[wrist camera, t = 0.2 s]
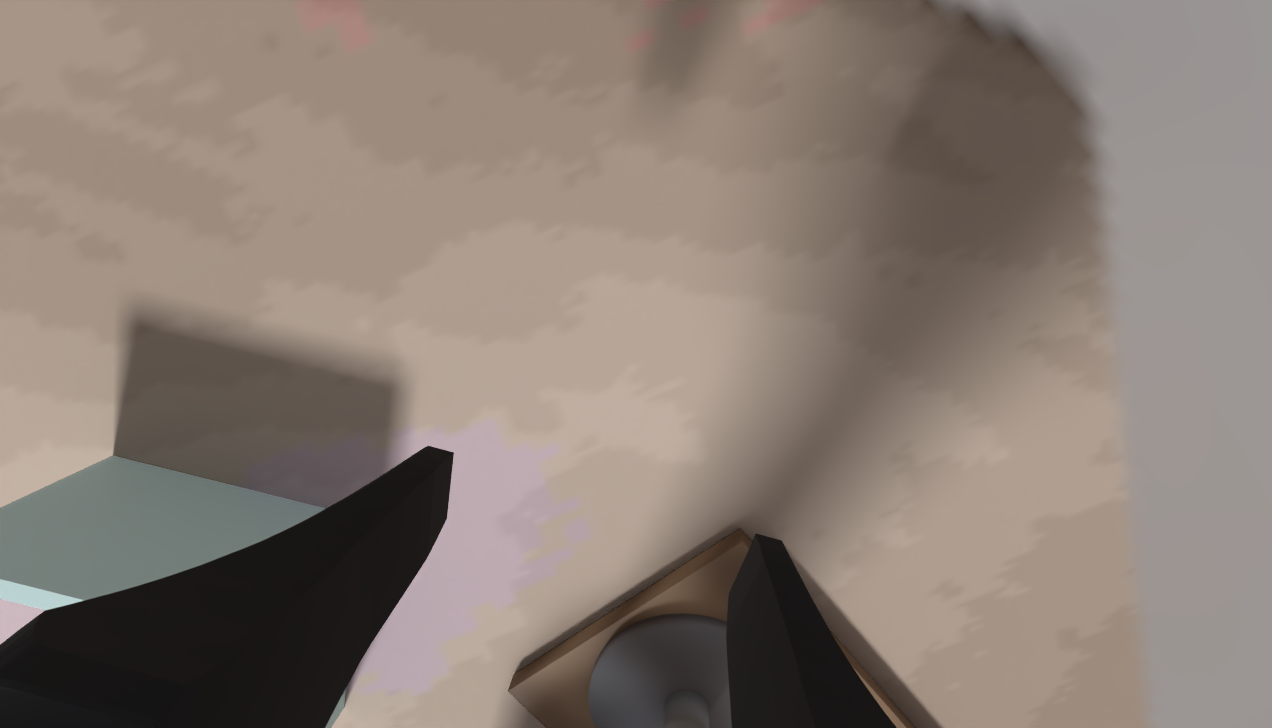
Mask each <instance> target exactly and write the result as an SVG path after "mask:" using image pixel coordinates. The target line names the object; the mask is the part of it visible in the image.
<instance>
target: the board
mask: <svg viewBox="0 0 1272 728" xmlns="http://www.w3.org/2000/svg"><path fill="white" fill-rule="evenodd" d="M751 543H752V541H751V539H750V538H749V537H748V536H747V535H746V534H745V533H744V531H743V530H742V529H741V528H740V529H738V530H737V531H735V532H733V533H732V534H730V535H729V536H727V537H726V538H724V539H723V540H721V541H719V542H718V543H716V544H715V545H713V546H712V547H710V548H709V549H707V550H706V551H704V552H702V553H701V554H699V555H698V556H696V557H695V558H693V559H692V560H690V561H689V562H687V563H685V564H684V565H682V566H681V567H679V568H678V569H676V570H675V571H673V572H671V573H670V574H668V575H667V576H665V577H664V578H662V579H661V580H659V581H658V582H656V583H654V584H653V585H651V586H650V587H648V588H647V589H645V590H644V591H642V592H641V593H639V594H637V595H636V596H634V597H633V598H631V599H630V600H628V601H627V602H625V603H623V604H622V605H620V606H619V607H617V608H616V609H614V610H613V611H611V612H610V613H608V614H606V615H605V616H603V617H602V618H600V619H599V620H597V621H596V622H594V623H592V624H591V625H589V626H588V627H586V628H585V629H583V630H582V631H580V632H579V633H577V634H575V635H574V636H572V637H571V638H569V639H568V640H566V641H565V642H563V643H562V644H560V645H558V646H557V647H555V648H554V649H552V650H551V651H549V652H548V653H546V654H544V655H543V656H541V657H540V658H538V659H537V660H535V661H534V662H532V663H531V664H529V665H527V666H526V667H524V668H523V669H521V670H520V671H518V672H517V673H515V674H514V675H513V678H512V681H511V684H510V687H509V689H508V692H509V693H510V694H511V695H513V696H514V697H515V698H516V699H517V700H518V701H519V702H520V703H521V704H522V705H523V706H524V707H525V708H526V709H527V710H528V711H529V712H530V713H532V714H533V715H534V716H535V717H536V718H537V719H538V720H539V721H540V722H541V723H542V724H543V725H544V726H545V727H546V728H732V724H731V708H730V693H729V678H728V662H727V644H726V630H727V611H728V596H729V592H730V590H731V588H732V585H733V583H734V581H735V579H736V577H737V574H738V572H739V570H740V568H741V566H742V563H743V561H744V559H745V557H746V555H747V552H748V550H749V548H750V546H751ZM830 632H831V631H830ZM831 633H832V632H831ZM832 635H833V637H834V638H835V640H836V642H837V643H838V645H839V647H840V648H841V650H842V651H843V653H844V654H845V656H846V658H847V659H848V661H849V662H850V664H851V665H852V667H853V668H854V670H855V671H856V673H857V674H858V676H859V677H860V679H861V680H862V682H863V683H864V684H865V686H866V687H867V689H868V690H869V691H870V693H871V694H872V695H873V697H874V698H875V700H876V701H877V702H878V704H879V705H880V706H881V708H882V709H883V711H884V712H885V713H886V715H887V716H888V717H889V718H890V720H891V721H892V722H893V724H894V725H895V726H896V727H897V728H915V727H914V726H913V724H912V723H911V722H910V721H909V720H908V719H907V718H906V716H905V715H904V714H903V713H902V712H901V711H900V710H899V708H898V707H897V706H896V705H895V704H894V703H893V702H892V700H891V699H890V698H889V697H888V696H887V695H886V694H885V692H884V691H883V690H882V689H881V688H880V687H879V686H878V684H877V683H876V682H875V681H874V680H873V679H872V678H871V676H870V675H869V674H868V673H867V672H866V671H865V670H864V668H863V667H862V666H861V665H860V664H859V663H858V662H857V660H856V659H855V658H854V657H853V656H852V655H851V654H850V652H849V651H848V650H847V649H846V648H845V647H844V646H843V644H842V643H841V642H840V641H839V640H838V639H837V638H836V636H835V635H834V634H833V633H832Z"/></svg>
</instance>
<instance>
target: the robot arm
mask: <svg viewBox="0 0 1272 728" xmlns="http://www.w3.org/2000/svg"><path fill="white" fill-rule="evenodd" d="M453 454H454V453H453V452H449V451H446V450H442V449H438V448H434V447H431V446H427V447H425V448H423V449H422V450H420V451H419V452H417V453H415V454H414V455H412V456H411V457H409V458H408V459H406V460H405V461H403V462H402V463H400V464H399V465H397V466H396V467H394V468H393V469H391V470H390V471H388V472H387V473H385V474H383V475H382V476H380V477H379V478H377V479H376V480H374V481H372V482H371V483H369V484H367V485H366V486H364V487H362V488H361V489H359V490H358V491H356V492H354V493H353V494H351V495H349V496H348V497H346V498H344V499H343V500H341V501H339V502H337V503H335V504H334V505H332V506H330V507H328V508H326V509H324V510H323V511H321V512H319V513H317V514H315V515H314V516H312V517H310V518H308V519H306V520H304V521H302V522H300V523H298V524H296V525H294V526H292V527H290V528H288V529H286V530H284V531H282V532H280V533H278V534H275V535H273V536H271V537H269V538H267V539H265V540H262V541H260V542H258V543H256V544H253V545H251V546H248V547H246V548H243V549H241V550H238V551H236V552H233V553H230V554H228V555H225V556H223V557H220V558H218V559H215V560H213V561H210V562H207V563H205V564H202V565H200V566H197V567H194V568H191V569H188V570H185V571H182V572H179V573H176V574H173V575H170V576H167V577H164V578H161V579H158V580H155V581H152V582H148V583H145V584H142V585H139V586H135V587H132V588H129V589H125V590H122V591H118V592H114V593H111V594H107V595H103V596H99V597H96V598H92V599H88V600H84V601H80V602H77V603H73V604H69V605H65V606H62V607H57V608H53V609H49V610H45V611H44V612H43V613H41V614H40V615H38V616H37V617H36V618H34V619H33V620H32V621H30V622H29V623H28V624H26V625H25V626H24V627H22V628H21V629H20V630H18V631H17V632H16V633H15V634H13V635H12V636H11V637H10V638H8V639H7V640H6V641H5V642H3V643H2V644H1V645H0V728H325V727H326V725H327V723H328V721H329V719H330V717H331V715H332V714H333V712H334V710H335V708H336V706H337V704H338V702H339V700H340V698H341V696H342V695H343V693H344V691H345V689H346V687H347V685H348V683H349V681H350V680H351V678H352V676H353V674H354V672H355V670H356V668H357V666H358V665H359V663H360V661H361V659H362V658H363V656H364V654H365V653H366V651H367V649H368V648H369V646H370V645H371V643H372V641H373V640H374V638H375V637H376V635H377V634H378V632H379V631H380V629H381V628H382V626H383V625H384V623H385V622H386V620H387V619H388V617H389V616H390V614H391V612H392V611H393V609H394V608H395V606H396V605H397V603H398V602H399V600H400V599H401V597H402V596H403V594H404V593H405V591H406V590H407V588H408V587H409V585H410V584H411V582H412V580H413V579H414V577H415V576H416V574H417V573H418V571H419V570H420V568H421V567H422V565H423V563H424V562H425V560H426V559H427V557H428V555H429V553H430V551H431V549H432V547H433V545H434V543H435V541H436V539H437V537H438V535H439V533H440V531H441V529H442V527H443V525H444V523H445V521H446V519H447V511H448V502H449V492H450V483H451V473H452V464H453ZM726 644H727V662H728V678H729V693H730V708H731V724H732V728H897V727H896V726H895V725H894V724H893V722H892V721H891V720H890V718H889V717H888V716H887V715H886V713H885V712H884V711H883V709H882V708H881V706H880V705H879V704H878V702H877V701H876V700H875V698H874V697H873V695H872V694H871V693H870V691H869V690H868V689H867V687H866V686H865V684H864V683H863V682H862V680H861V679H860V677H859V676H858V674H857V673H856V671H855V670H854V668H853V667H852V665H851V664H850V662H849V661H848V659H847V658H846V656H845V654H844V653H843V651H842V650H841V648H840V647H839V645H838V643H837V642H836V640H835V638H834V637H833V635H832V633H831V632H830V630H829V628H828V626H827V625H826V623H825V621H824V619H823V618H822V616H821V614H820V612H819V611H818V609H817V607H816V605H815V603H814V602H813V600H812V598H811V596H810V594H809V592H808V590H807V588H806V587H805V585H804V583H803V581H802V579H801V577H800V575H799V573H798V571H797V569H796V567H795V565H794V563H793V561H792V560H791V558H790V556H789V554H788V552H787V550H786V548H785V546H784V544H783V542H782V541H781V540H777V539H774V538H770V537H766V536H762V535H759V534H756V535H755V537H754V539H753V541H752V543H751V546H750V548H749V550H748V552H747V555H746V557H745V559H744V561H743V563H742V566H741V568H740V570H739V572H738V574H737V577H736V579H735V581H734V583H733V585H732V588H731V590H730V592H729V596H728V611H727V630H726Z"/></svg>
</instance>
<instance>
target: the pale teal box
mask: <svg viewBox="0 0 1272 728" xmlns="http://www.w3.org/2000/svg"><path fill="white" fill-rule="evenodd" d="M324 509H326V508H323V507H319V506H315V505H311V504H307V503H303V502H299V501H295V500H291V499H287V498H283V497H279V496H275V495H270V494H266V493H262V492H258V491H254V490H250V489H246V488H242V487H238V486H234V485H230V484H226V483H222V482H218V481H214V480H210V479H206V478H202V477H198V476H194V475H190V474H186V473H182V472H178V471H174V470H170V469H166V468H162V467H158V466H154V465H149V464H145V463H141V462H137V461H133V460H129V459H125V458H121V457H117V456H111V457H109V458H106V459H104V460H102V461H100V462H98V463H96V464H94V465H91V466H89V467H87V468H85V469H83V470H81V471H79V472H76V473H74V474H72V475H70V476H68V477H66V478H64V479H61V480H59V481H57V482H55V483H53V484H51V485H49V486H46V487H44V488H42V489H40V490H38V491H36V492H34V493H31V494H29V495H27V496H25V497H23V498H21V499H18V500H16V501H14V502H12V503H10V504H8V505H6V506H3V507H1V508H0V599H3V600H7V601H11V602H15V603H19V604H23V605H27V606H31V607H35V608H39V609H43V610H49V609H53V608H57V607H62V606H65V605H69V604H73V603H77V602H80V601H84V600H88V599H92V598H96V597H99V596H103V595H107V594H111V593H114V592H118V591H122V590H125V589H129V588H132V587H135V586H139V585H142V584H145V583H148V582H152V581H155V580H158V579H161V578H164V577H167V576H170V575H173V574H176V573H179V572H182V571H185V570H188V569H191V568H194V567H197V566H200V565H202V564H205V563H207V562H210V561H213V560H215V559H218V558H220V557H223V556H225V555H228V554H230V553H233V552H236V551H238V550H241V549H243V548H246V547H248V546H251V545H253V544H256V543H258V542H260V541H262V540H265V539H267V538H269V537H271V536H273V535H275V534H278V533H280V532H282V531H284V530H286V529H288V528H290V527H292V526H294V525H296V524H298V523H300V522H302V521H304V520H306V519H308V518H310V517H312V516H314V515H315V514H317V513H319V512H321V511H323V510H324ZM345 693H346V689H345V691H344V693H343V695H342V696H341V698H340V700H339V702H338V704H337V706H336V708H335V710H334V712H333V714H332V715H331V717H330V719H329V721H328V723H327V725H326V727H325V728H331V727H332V725H333V724H334V722H335V721H336V719H337V718H338V716H339V715H340V713H341V712H342V710H343V709H344V705H345Z"/></svg>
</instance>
